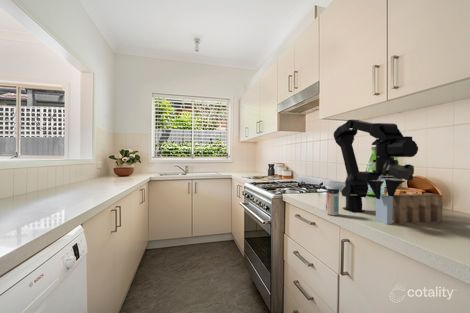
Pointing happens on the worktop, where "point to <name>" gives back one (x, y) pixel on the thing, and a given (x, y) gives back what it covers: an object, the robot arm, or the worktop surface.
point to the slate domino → (384, 209)
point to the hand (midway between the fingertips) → (384, 199)
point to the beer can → (332, 200)
